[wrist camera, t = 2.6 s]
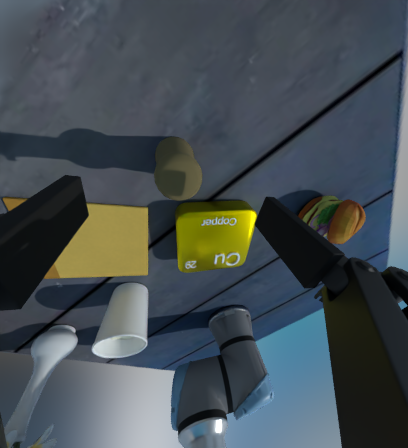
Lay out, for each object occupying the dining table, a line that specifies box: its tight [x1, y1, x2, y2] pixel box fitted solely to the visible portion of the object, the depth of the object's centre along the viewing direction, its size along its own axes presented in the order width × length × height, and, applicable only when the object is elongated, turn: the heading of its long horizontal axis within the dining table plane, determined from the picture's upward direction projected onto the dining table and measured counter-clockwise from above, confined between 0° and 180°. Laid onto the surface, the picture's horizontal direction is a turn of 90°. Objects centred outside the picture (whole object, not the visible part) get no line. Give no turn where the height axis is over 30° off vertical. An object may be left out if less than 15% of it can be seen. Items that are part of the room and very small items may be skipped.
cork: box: [154, 137, 202, 201], centre depth 21 cm, size 6×6×11 cm
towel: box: [2, 197, 148, 279], centre depth 31 cm, size 18×20×1 cm
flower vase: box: [4, 325, 78, 448], centre depth 34 cm, size 13×18×25 cm
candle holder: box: [92, 282, 148, 358], centre depth 36 cm, size 10×10×12 cm
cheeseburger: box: [298, 196, 366, 244], centre depth 35 cm, size 10×11×10 cm
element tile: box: [175, 200, 257, 273], centre depth 33 cm, size 15×15×5 cm
